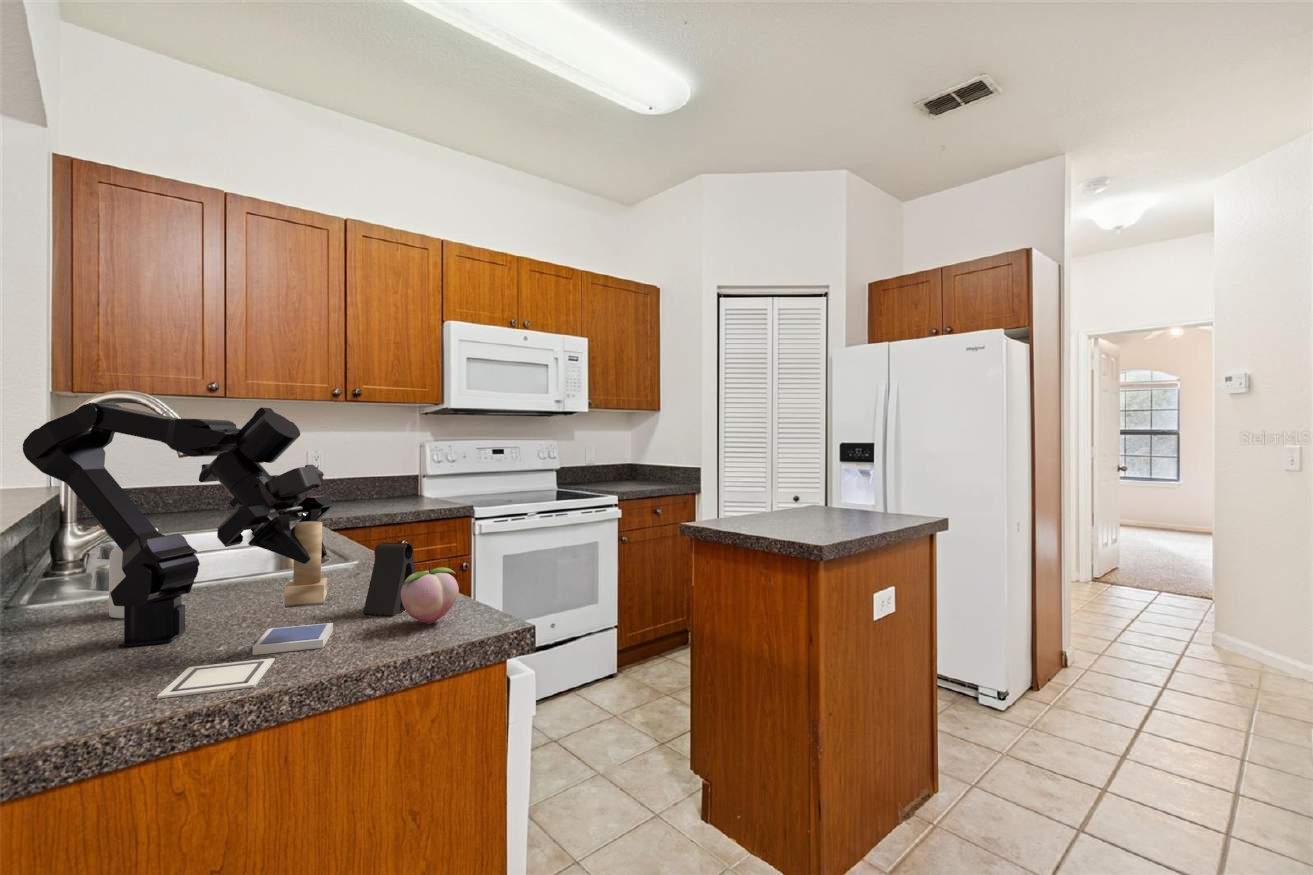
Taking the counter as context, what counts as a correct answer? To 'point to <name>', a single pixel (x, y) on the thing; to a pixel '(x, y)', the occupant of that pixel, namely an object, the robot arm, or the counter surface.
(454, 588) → the decorative fruit
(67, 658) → the counter surface
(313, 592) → the stamp
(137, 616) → the robot arm
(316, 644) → the ink pad
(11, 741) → the counter surface
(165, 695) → the card
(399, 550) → the phone stand
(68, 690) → the counter surface
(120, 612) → the pill bottle
